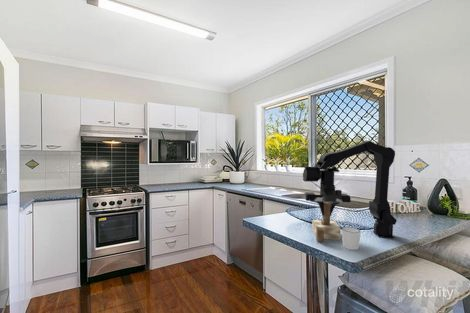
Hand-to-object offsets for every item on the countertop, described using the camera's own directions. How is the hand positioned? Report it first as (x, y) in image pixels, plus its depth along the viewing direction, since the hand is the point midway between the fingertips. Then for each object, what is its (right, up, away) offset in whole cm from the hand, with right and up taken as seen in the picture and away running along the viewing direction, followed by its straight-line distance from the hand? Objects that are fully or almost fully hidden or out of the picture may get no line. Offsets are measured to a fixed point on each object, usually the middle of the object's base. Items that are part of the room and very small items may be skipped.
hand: (326, 216), depth 109 cm
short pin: (-5, -9, -7) cm, 12 cm away
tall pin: (0, -4, 0) cm, 4 cm away
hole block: (0, -9, 0) cm, 9 cm away
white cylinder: (+5, -9, -12) cm, 16 cm away
